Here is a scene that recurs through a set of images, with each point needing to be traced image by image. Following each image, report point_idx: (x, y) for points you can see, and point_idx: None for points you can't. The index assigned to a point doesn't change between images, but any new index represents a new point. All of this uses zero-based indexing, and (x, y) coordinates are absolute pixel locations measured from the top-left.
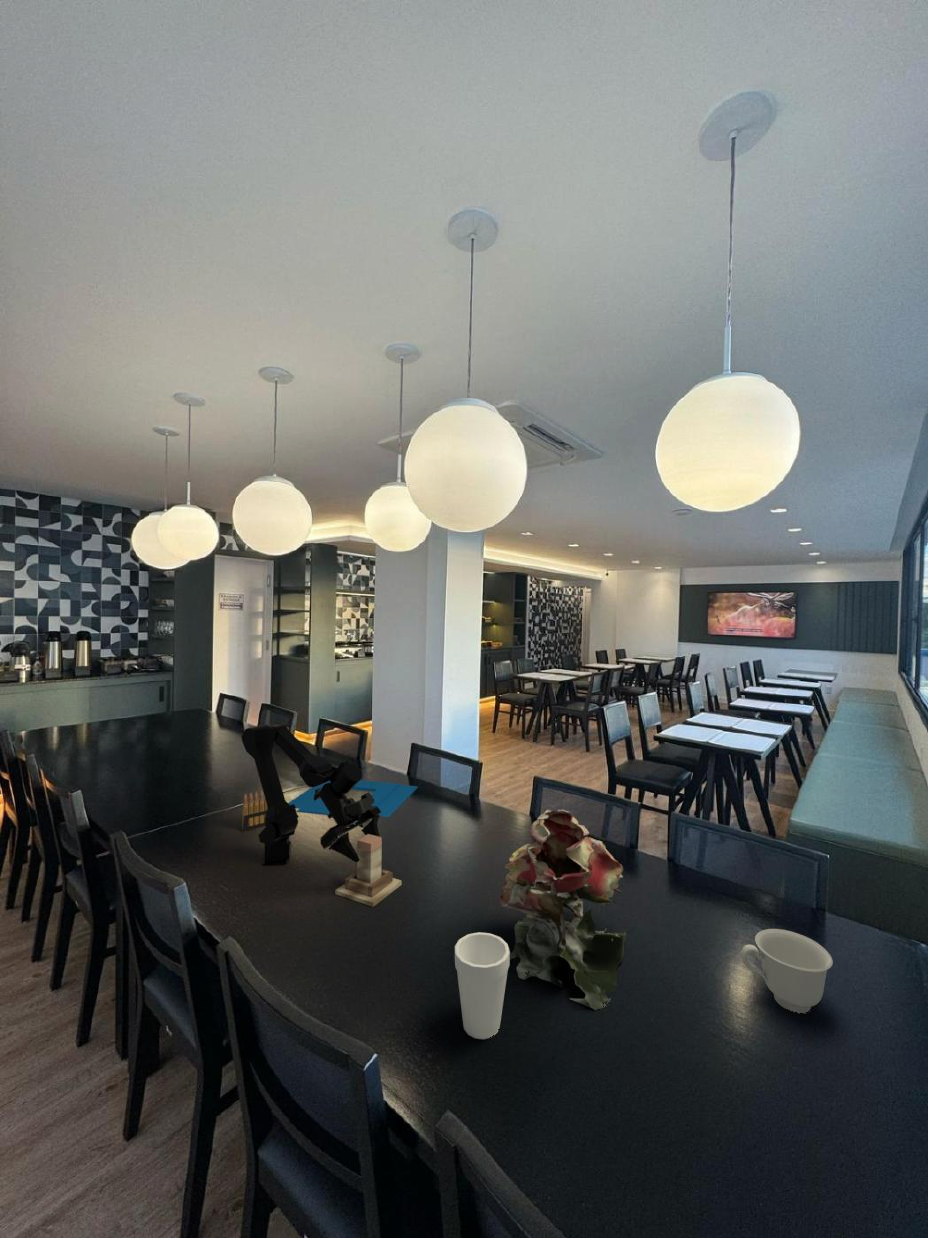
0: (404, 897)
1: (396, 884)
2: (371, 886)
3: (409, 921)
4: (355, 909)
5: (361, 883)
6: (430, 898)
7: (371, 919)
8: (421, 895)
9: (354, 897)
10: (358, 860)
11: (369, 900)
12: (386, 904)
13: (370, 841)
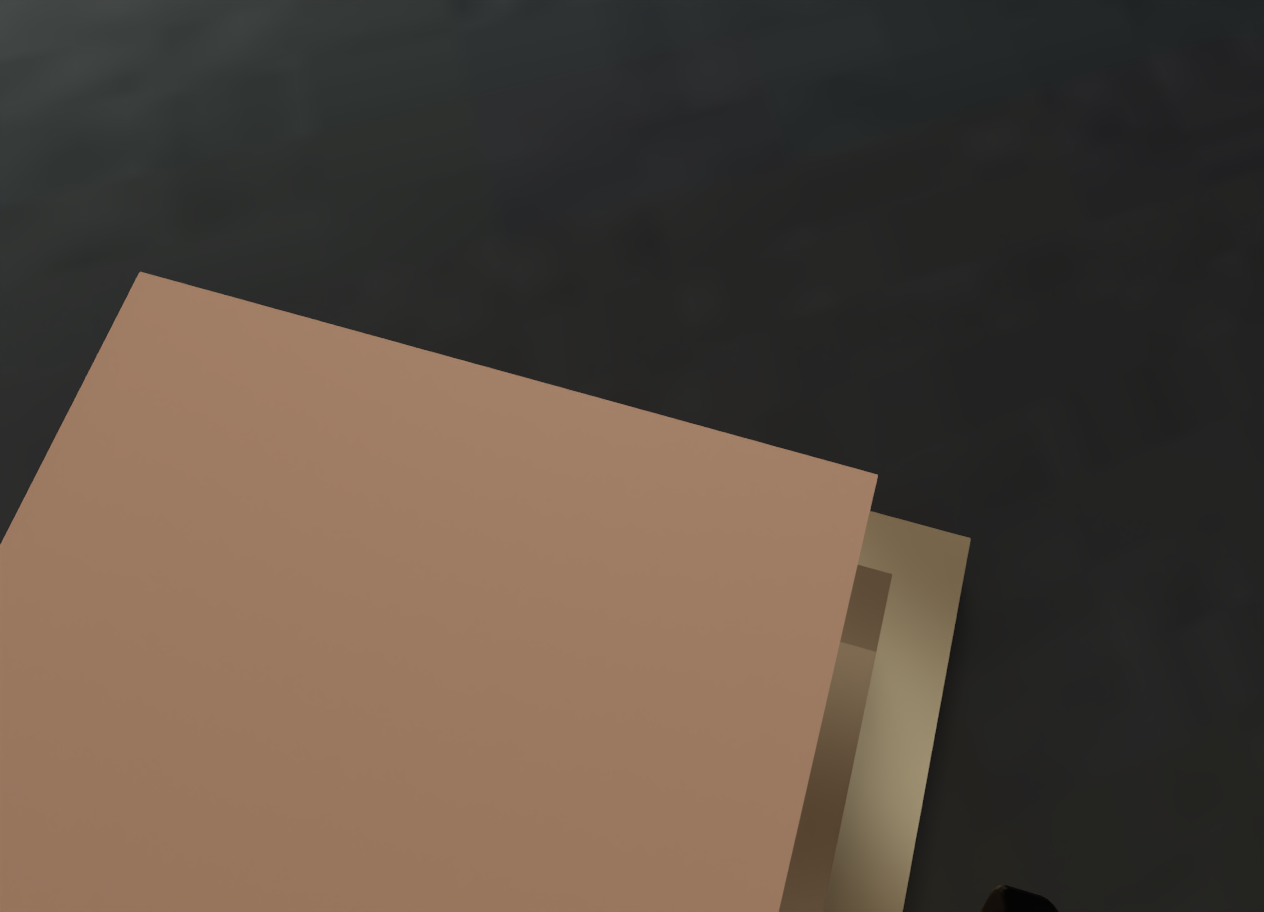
0: (640, 268)
1: None
2: (867, 597)
3: (1070, 93)
4: (1079, 764)
5: (824, 810)
6: (596, 15)
7: (1197, 476)
8: (556, 111)
9: (906, 878)
10: (1045, 904)
11: (937, 610)
12: (844, 418)
13: (644, 594)
